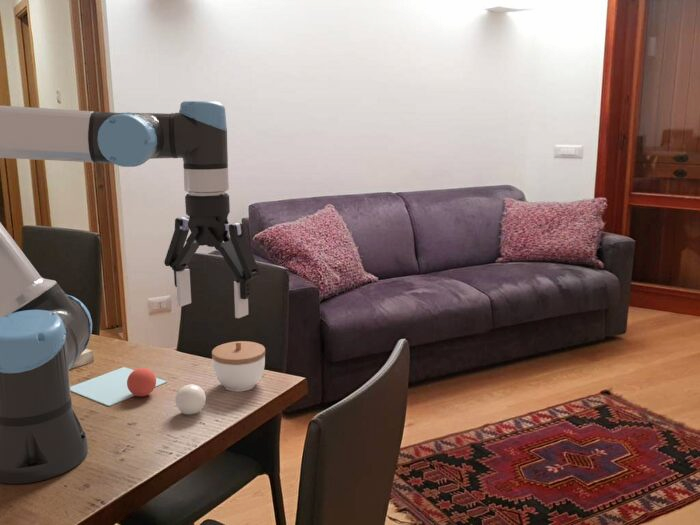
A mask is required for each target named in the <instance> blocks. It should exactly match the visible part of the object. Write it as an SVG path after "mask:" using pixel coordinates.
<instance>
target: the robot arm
mask: <svg viewBox="0 0 700 525" xmlns="http://www.w3.org/2000/svg"><path fill="white" fill-rule="evenodd" d="M179 106H180V108H179V112H172V113H159V112H158V113H155V112H153V113H152V112H111V111H91V110H81V109H80V110H79V109H78V110H77V109H76V110H75V109H61V108H46V107H45V108H44V107H28V106H16V105H14V106H13V105H12V106H11V105H0V159H17V160H18V159H19V160H36V161H56V162H57V161H59V162H76V163H77V162H81V163H82V162H83V163H96V164H97V163H98V164H108V165H109V164H110V165H111V164H112V165H116V166H119V167H124V168H132V167H139V166H141V165H143V164H145V163H146V162H147V161H149V160H150V159H182V161H183V182H184V191H185V192H187V194H186V195H185V196H184V200H185V202H184V203H185V205H184V206H185V214H186V216H181V217H176V218H175V219H174V231H173V234H172V238H171V240H170V243H169V246H168V249H167V252H166V256H165V259H164V260H163V261H164V262H163V264H164V265H165V266H166V267H170V268H171V270H172V271H173V279H174V286H175V288H176V294H177V296H176V297H177V298H176V299H177V307H184V306H186V305H190V304H192V292H191V290H192V289H191V288H192V287H191V274H190V271H191V270H190V268H189V266H188V264H189V262H190V261H191V260H192V258H193V257H194V255H195V253H197V251H198V249H199V248H200V246H202V247H203V246H207V247H209V248H215V250H216V251H218V252H219V253H220V254H221V256H222V257H223V259H224V260H225V262H226V263H227V265H228V267H229V268H230V270H231V271H232V273H233V274H234V276H235V278H236V280H234V281H233V291H234V292H233V293H234V294H233V295H234V298H233V299H234V318H235V319H241V318H243V317H247V316H248V315H249V298H251V296H252V292H251V280H252V279H255V278H257V277H260V275H261V272H260V269H259V267H258V265H257V262H256V260H255V257H254V255H253V253H252V250H251V248H250V245H249V243H248V240H247V238H246V235H245V227H244V224H243V222H236V223H229V220H228V217H229V214H230V212H231V211H230V210H231V209H230V206H231V205H230V195H229V193H227V191H228V190H229V188H230V186H229V183H230V182H229V164H228V162H229V160H228V159H229V155H228V153H229V152H228V129H227V128H228V127H227V118H226V109H225V108H226V107H225V105H224V104H222V103H221V102H219V101H215V100H214V101H212V100H211V101H209V100H208V101H207V100H204V101H202V100H201V101H196V100H195V101H191V100H190V101H189V100H186V101H185V100H184V101H182V102H181V103H180V104H179ZM189 231H190V234H189ZM188 234H189V235H188ZM92 332H93V320H92V317H91V313H90V311H89V309H88V308H87V306H86V305H85V304H84V303H83V302H82V301H81V300H80V299H78V298H76V297H75V296H72V295H69V294H67V293H65V291H64V290H63V289H62V288H61V285H60V284H58V282H57V281H56V280H54V279H49V278H44V277H42V276H41V275H40V273H39V272H38V271H37V269H36V268H35V266H34V265H33V264H32V262H31V260H29V259H28V257H27V256H26V254H25V253H24V252H23V251H22V249H21V247H19V245H18V244H17V242H16V241H15V239H14V238H13V237H12V236H11V235H10V233H9V232H8V231H7V229H6V227H4V225H3V224H2V222H1V221H0V483H2V484H7V485H8V484H10V485H11V484H13V485H17V484H18V485H19V484H20V485H21V484H31V483H35V482H41V481H44V480H49V479H52V478H55V477H58V476H59V475H62V474H64V473H67V472H68V471H71V470H73V469H74V468H75V467H77V466H78V465H80V464H81V463H82V462H83V461H84V459H85V458H86V457H87V454H88V452H89V447H88V446H89V445H88V438H87V435H86V433H85V431H84V429H83V426H82V424H81V422H80V421H79V419H78V417H77V414H76V412H75V411H74V409H73V402H72V394H71V393H72V392H71V391H70V387H71V384H70V376H69V375H70V373H69V372H70V370H71V369H70V368H71V367H72V365H73V364H74V362H75V361H76V360H77V358H78V357H79V356H80V355H81V354H82V352H83V351H84V350H85V349H87V346H88V345H89V343H90V338H91V336H92Z"/></svg>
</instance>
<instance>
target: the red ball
mask: <svg viewBox="0 0 700 525" xmlns="http://www.w3.org/2000/svg"><path fill="white" fill-rule="evenodd" d="M133 370H134V371H133V372H132V373H131V374H130V375H129V377H128V379H127V387H128V389H129V391H130V392H131V393H132V394H134V395H136V396H135V397H147V396H148V395H150V394H152V392H153V391H154V390H155V388H156V387H155V386H156V378H157V377H156V375H155V374H154V372H153V371H152V370H150V369H148V368H145V367H140V368H139V367H138V368H137V369H133Z"/></svg>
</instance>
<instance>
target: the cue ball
mask: <svg viewBox="0 0 700 525" xmlns="http://www.w3.org/2000/svg"><path fill="white" fill-rule="evenodd" d="M206 401H207V396H206V393H205V391H204V389H203V388H202V387H201V386H199V385H197V384H193V383H191V384H186V385H184V386H182V387H181V388H180V389H178V391H177V393H176V395H175V405H176V408H177V410H179V411H180V412H181V413H183V414H185V415H196V414H198V413H199V412H201V411H202V410H203V409H204V407H205V405H206Z"/></svg>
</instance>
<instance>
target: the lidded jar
mask: <svg viewBox="0 0 700 525" xmlns="http://www.w3.org/2000/svg"><path fill="white" fill-rule="evenodd" d="M211 358H212V368H213V371H214V375H215V377H216V380H217V381H218V382H219V383H220V384H221V385H222V386H223V387H225V389H226V390H228V391H230V392H236V393H237V392H238V393H239V392H246V391H250V390H252V389H253V388H254V387H255V386H256V384H257V383H258V382H259V381H260V380H261V378H262V376H263V374H264V371H265V364H266V347H265V346H264V345H263V344H260V343H258V342H255V341H247V340H245V341H244V340H239V341H238V340H237V341H230V342H226V343H223V344H222V343H221V344H220V345H217V346H216V347H214V348H213V349H212V350H211Z"/></svg>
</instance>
